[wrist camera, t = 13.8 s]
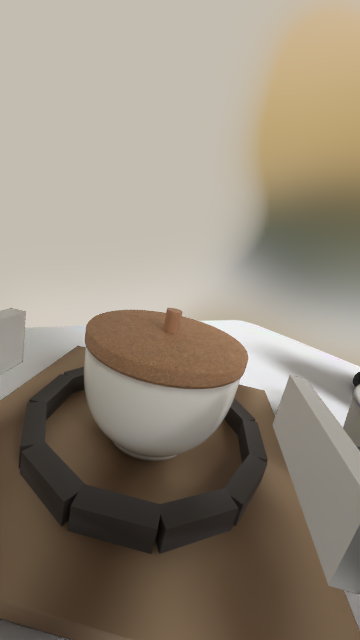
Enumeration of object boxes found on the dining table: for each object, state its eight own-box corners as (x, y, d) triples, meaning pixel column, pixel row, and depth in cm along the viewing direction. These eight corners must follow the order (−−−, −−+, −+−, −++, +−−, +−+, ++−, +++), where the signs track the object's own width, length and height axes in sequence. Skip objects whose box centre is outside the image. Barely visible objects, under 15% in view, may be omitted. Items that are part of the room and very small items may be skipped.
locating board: (261, 398, 31) (268, 378, 30) (381, 732, 9) (412, 690, 9) (76, 353, 32) (79, 333, 31) (-194, 561, 10) (-205, 512, 10)
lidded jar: (83, 386, 24) (97, 282, 21) (197, 394, 27) (221, 302, 24) (57, 497, 14) (76, 325, 11) (244, 491, 17) (292, 352, 14)
